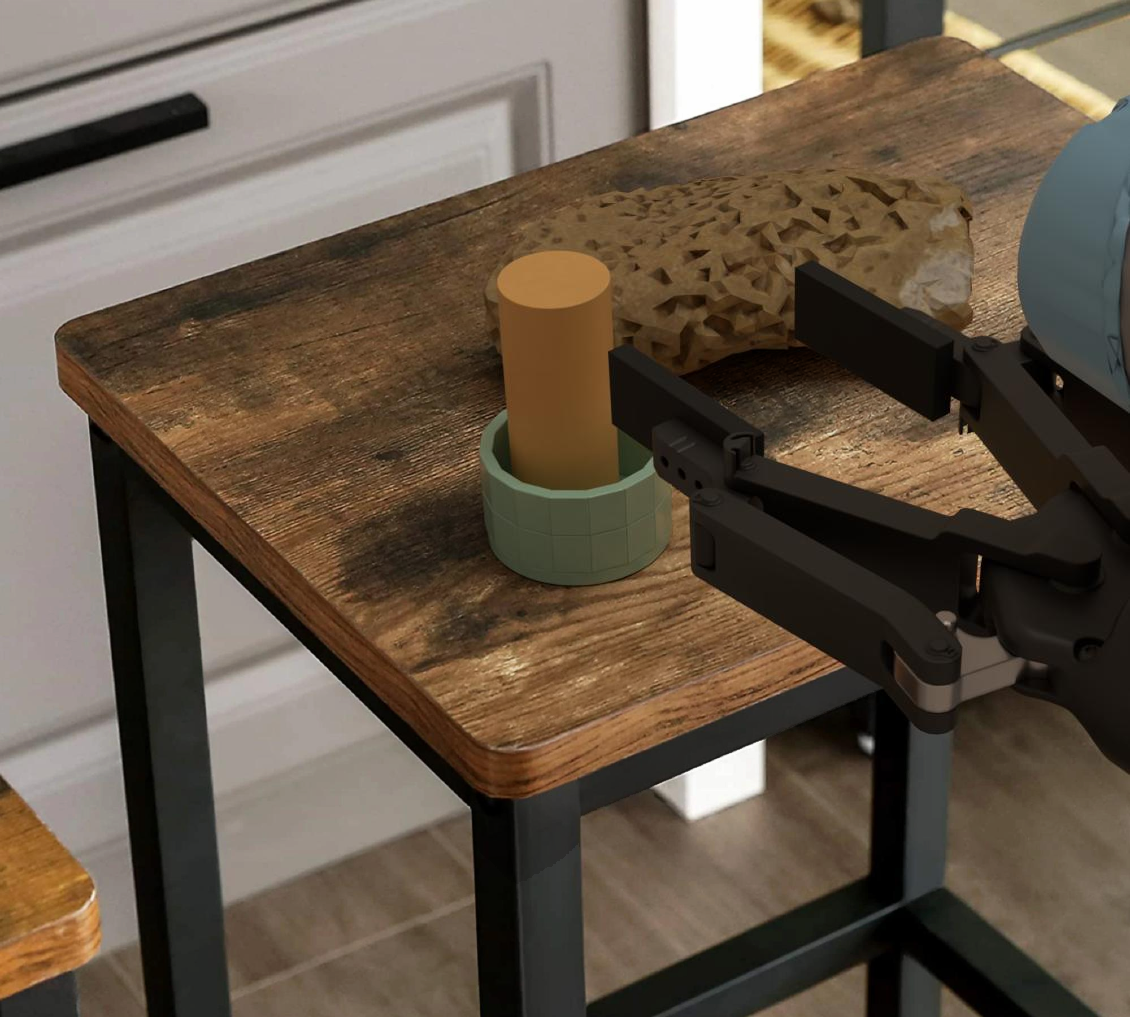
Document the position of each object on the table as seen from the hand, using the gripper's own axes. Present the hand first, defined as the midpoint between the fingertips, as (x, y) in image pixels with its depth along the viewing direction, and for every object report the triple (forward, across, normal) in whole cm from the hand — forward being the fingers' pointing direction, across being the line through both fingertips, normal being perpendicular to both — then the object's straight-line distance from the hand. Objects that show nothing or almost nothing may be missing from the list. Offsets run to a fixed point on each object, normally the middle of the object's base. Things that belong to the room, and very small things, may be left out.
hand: (714, 340), depth 69 cm
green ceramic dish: (+8, 0, -12) cm, 15 cm away
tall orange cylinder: (+9, 0, -12) cm, 14 cm away
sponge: (+15, +13, -12) cm, 23 cm away
